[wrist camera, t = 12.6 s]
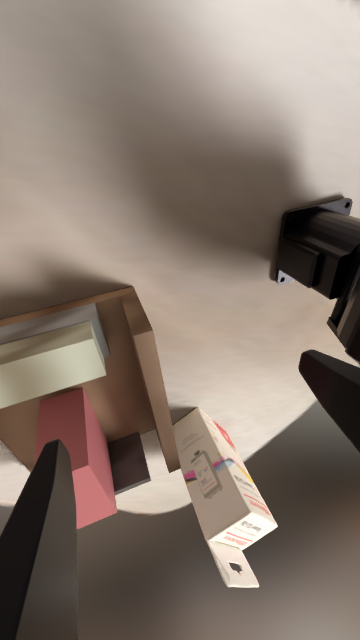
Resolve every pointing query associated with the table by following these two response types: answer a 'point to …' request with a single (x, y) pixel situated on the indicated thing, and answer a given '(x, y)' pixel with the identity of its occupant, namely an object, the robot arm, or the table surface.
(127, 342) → the shelf
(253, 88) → the table surface
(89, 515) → the tall dusty pink block
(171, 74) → the table surface
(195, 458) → the ink cartridge box
